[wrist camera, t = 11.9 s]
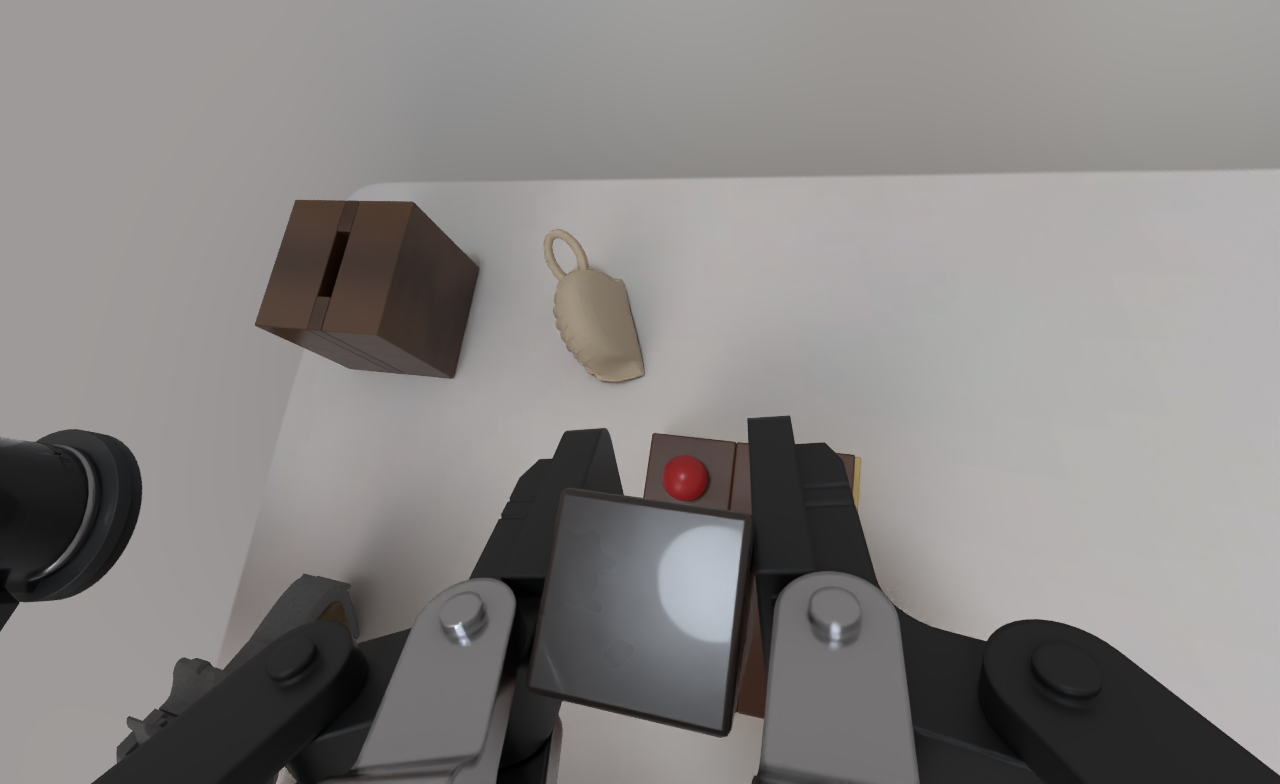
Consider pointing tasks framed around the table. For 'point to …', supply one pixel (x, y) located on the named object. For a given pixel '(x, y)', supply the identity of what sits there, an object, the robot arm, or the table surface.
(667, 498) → the cake
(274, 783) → the handgun
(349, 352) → the knife block
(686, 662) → the knife
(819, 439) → the table surface
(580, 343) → the decorative ornament
